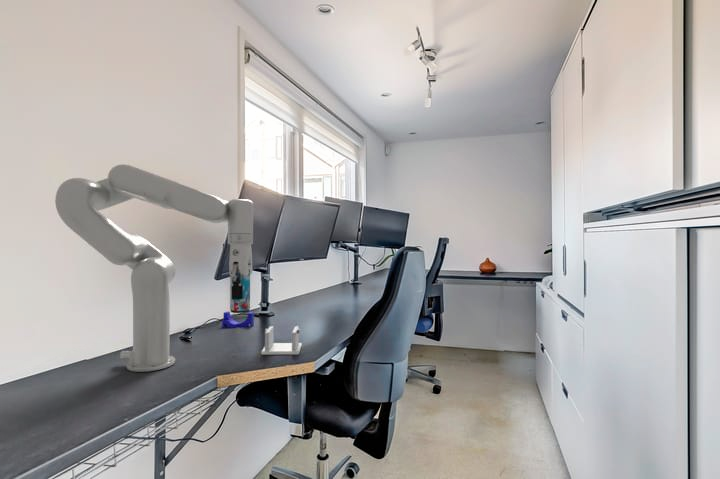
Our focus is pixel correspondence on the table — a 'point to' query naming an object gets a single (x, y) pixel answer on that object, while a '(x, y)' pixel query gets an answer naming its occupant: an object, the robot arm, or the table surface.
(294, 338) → the clip holder
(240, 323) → the cable clip
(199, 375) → the table surface
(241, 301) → the beverage can
